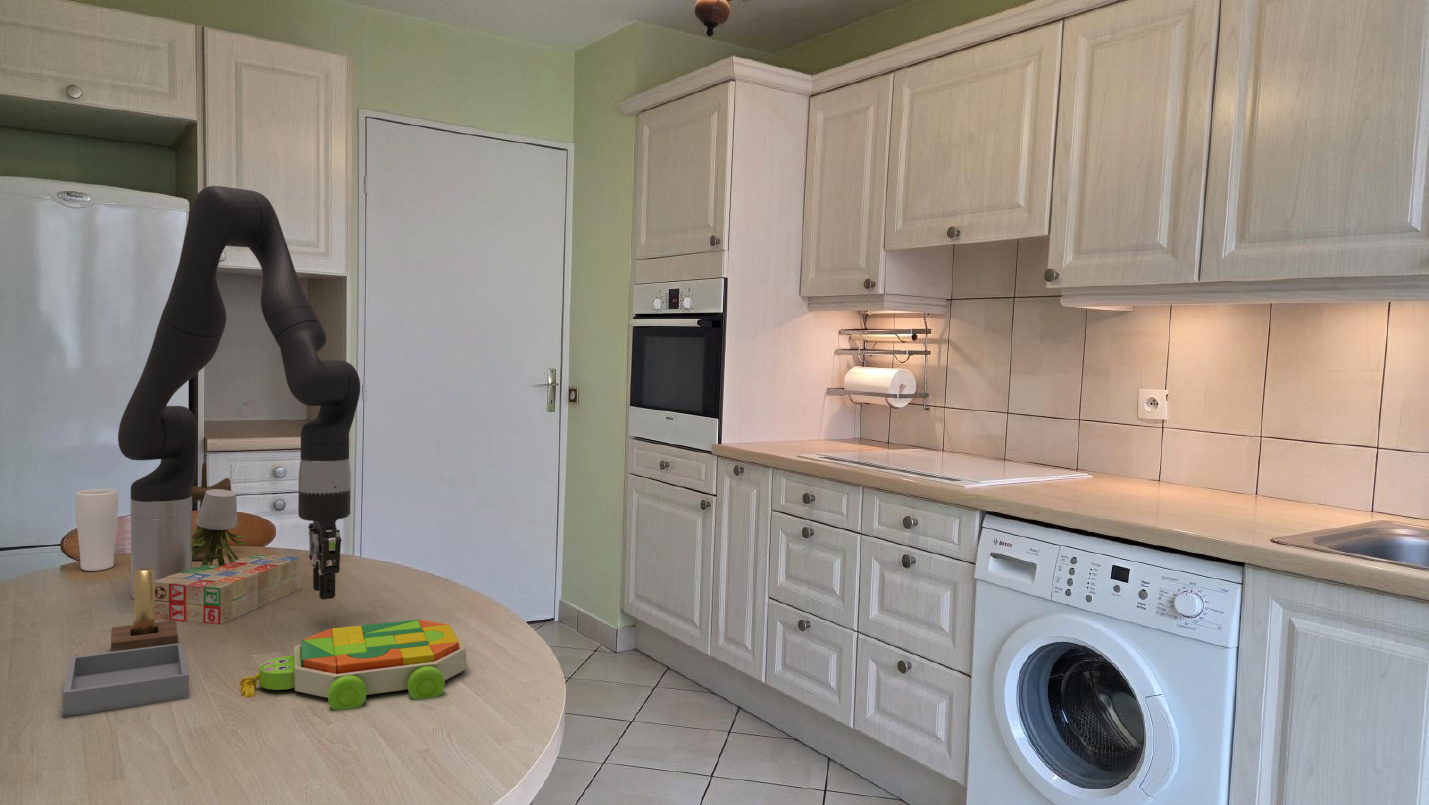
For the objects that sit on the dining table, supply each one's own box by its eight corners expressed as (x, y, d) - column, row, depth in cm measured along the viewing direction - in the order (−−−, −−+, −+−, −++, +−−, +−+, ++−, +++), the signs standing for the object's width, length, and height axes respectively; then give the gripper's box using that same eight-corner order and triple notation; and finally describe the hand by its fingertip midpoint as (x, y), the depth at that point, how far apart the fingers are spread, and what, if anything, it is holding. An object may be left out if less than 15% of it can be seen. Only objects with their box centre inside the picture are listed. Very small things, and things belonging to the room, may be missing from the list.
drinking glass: (89, 564, 178) (88, 488, 177) (125, 564, 179) (125, 489, 178) (67, 572, 172) (67, 494, 171) (105, 573, 172) (105, 495, 171)
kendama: (231, 560, 185) (232, 463, 184) (177, 565, 180) (177, 465, 179) (229, 554, 190) (229, 459, 189) (175, 558, 185) (175, 461, 184)
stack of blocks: (301, 590, 165) (240, 585, 167) (301, 556, 165) (240, 552, 167) (219, 625, 144) (150, 619, 146) (219, 587, 144) (150, 581, 146)
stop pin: (134, 650, 132) (133, 568, 131) (154, 647, 133) (154, 567, 132) (134, 655, 130) (134, 572, 129) (154, 652, 131) (154, 571, 130)
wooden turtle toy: (243, 668, 127) (243, 629, 127) (448, 646, 139) (449, 611, 139) (234, 729, 108) (235, 683, 107) (474, 698, 120) (475, 657, 119)
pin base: (111, 647, 133) (111, 627, 132) (175, 639, 137) (175, 620, 137) (110, 664, 126) (110, 643, 126) (177, 655, 130) (177, 635, 130)
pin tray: (69, 679, 120) (69, 657, 120) (183, 663, 127) (183, 642, 127) (63, 717, 108) (63, 693, 108) (188, 698, 115) (188, 674, 115)
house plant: (265, 507, 169) (253, 591, 171) (272, 489, 182) (260, 567, 183) (178, 500, 164) (166, 586, 165) (191, 481, 176) (180, 561, 178)
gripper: (359, 493, 138) (358, 602, 139) (341, 479, 150) (340, 581, 151) (306, 495, 134) (305, 609, 135) (291, 482, 146) (291, 586, 147)
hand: (323, 593), depth 143 cm, fingers open, 5 cm apart
